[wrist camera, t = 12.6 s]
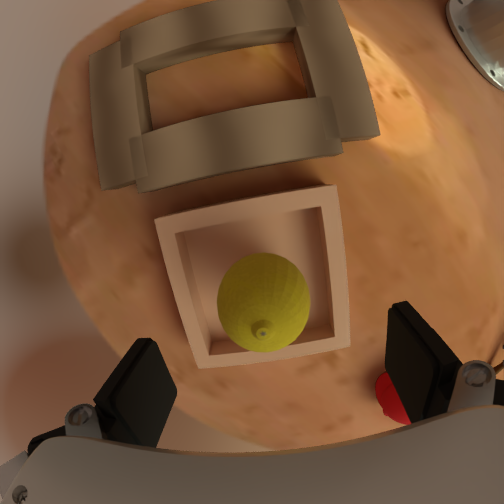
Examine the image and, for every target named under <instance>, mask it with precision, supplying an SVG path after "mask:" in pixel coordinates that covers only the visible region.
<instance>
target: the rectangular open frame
mask: <svg viewBox="0 0 504 504" xmlns="http://www.w3.org/2000/svg"><path fill="white" fill-rule="evenodd" d="M282 42H293V44H294V47H295V51H296V54H297V58H298V61H299V65H300V68H301V72H302V76H303V79H304V83H305V87H306V91H307V95H308V98H304V99H296V100H288V101H280V102H273V103H267V104H261V105H255V106H249V107H244V108H239V109H234V110H229V111H224V112H220V113H215V114H211V115H207V116H203V117H199V118H195V119H191V120H188V121H184V122H180V123H177V124H173V125H170V126H167V127H163V128H160V129H157V130H154V131H153V128H152V121H151V114H150V107H149V100H148V92H147V83H146V74H148V73H151V72H153V71H156V70H159V69H162V68H165V67H168V66H171V65H175V64H178V63H181V62H185V61H188V60H192V59H195V58H199V57H203V56H207V55H211V54H216V53H220V52H225V51H230V50H235V49H240V48H246V47H252V46H258V45H265V44H273V43H282ZM89 83H90V104H91V117H92V128H93V137H94V146H95V153H96V160H97V167H98V173H99V179H100V185H101V190H112V189H119V188H122V187H125V186H128V185H132V184H135V183H136V185H137V190H138V193H145V192H152V191H156V190H160V189H163V188H167V187H171V186H175V185H179V184H183V183H187V182H191V181H196V180H200V179H204V178H209V177H213V176H218V175H223V174H227V173H232V172H237V171H242V170H247V169H253V168H258V167H264V166H269V165H275V164H281V163H288V162H294V161H301V160H308V159H315V158H322V157H330V156H336V155H339V154H342V153H343V149H342V144H341V142H347V141H358V140H368V139H371V138H374V137H377V136H379V135H380V130H379V126H378V121H377V117H376V112H375V108H374V104H373V100H372V97H371V93H370V89H369V86H368V82H367V79H366V75H365V72H364V69H363V66H362V63H361V60H360V57H359V54H358V51H357V48H356V45H355V42H354V40H353V37H352V34H351V32H350V29H349V27H348V24H347V22H346V19H345V17H344V14H343V12H342V10H341V8H340V5H339V3H338V1H337V0H216V1H211V2H207V3H203V4H199V5H195V6H191V7H187V8H184V9H180V10H177V11H174V12H171V13H167V14H164V15H161V16H159V17H156V18H153V19H150V20H147V21H145V22H142V23H140V24H137V25H135V26H132V27H130V28H128V29H125V30H123V31H121V32H120V41H118V42H116V43H113V44H111V45H109V46H107V47H105V48H103V49H101V50H99V51H97V52H95V53H93V54H91V55H89Z"/></svg>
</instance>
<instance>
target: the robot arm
mask: <svg viewBox="0 0 504 504" xmlns="http://www.w3.org/2000/svg"><path fill="white" fill-rule="evenodd" d="M446 16H447V19H448V22H449V25H450V27H451V30H452V32H453V34H454V36H455V38H456V40H457V41H458V43H459V45H460V46H461V48H462V49H463V51H464V53H465V54H466V55H467V57H468V58H469V59H470V61H471V62H472V63H473V65H474V66H475V67H476V68H477V70H478V71H479V72H480V73H481V74H482V75H483V76H484V77H485V78H486V79H487V80H488V81H489V82H490V83H492V84H493V85H494V86H496V87H497V88H498V89H500V90H502V91H504V0H449V1H448V3H447V4H446ZM385 368H386V371H387V373H388V375H389V377H390V379H391V381H392V383H393V385H394V387H395V389H396V392H397V394H398V396H399V398H400V400H401V402H402V404H403V407H404V409H405V411H406V413H407V415H408V418H409V420H410V422H411V424H409V425H406V426H403V427H400V428H396V429H393V430H389V431H386V432H382V433H378V434H374V435H370V436H366V437H362V438H358V439H353V440H348V441H343V442H338V443H333V444H327V445H321V446H314V447H307V448H299V449H290V450H280V451H267V452H245V453H214V452H192V451H180V450H169V449H160V448H156V446H157V444H158V441H159V438H160V436H161V433H162V431H163V428H164V426H165V423H166V421H167V418H168V416H169V413H170V411H171V408H172V406H173V403H174V401H175V399H176V396H177V388H176V386H175V384H174V382H173V379H172V377H171V375H170V373H169V371H168V368H167V366H166V364H165V361H164V359H163V357H162V354H161V352H160V350H159V347H158V345H157V343H156V342H155V341H153V340H152V339H151V338H138V339H137V340H136V341H135V342H134V344H133V345H132V346H131V348H130V349H129V350H128V352H127V353H126V354H125V356H124V357H123V358H122V360H121V361H120V363H119V364H118V365H117V367H116V368H115V369H114V371H113V372H112V374H111V375H110V376H109V378H108V379H107V381H106V382H105V383H104V385H103V386H102V388H101V389H100V391H99V392H98V393H97V395H96V396H95V398H94V399H93V400H94V402H95V403H96V405H95V407H93V406H92V405H90V404H80V405H77V406H75V407H73V408H72V409H70V410H69V412H68V413H67V414H66V416H65V425H64V426H62V427H59V428H57V429H54V430H52V431H49V432H47V433H44V434H41V435H39V436H37V437H34V438H33V439H32V440H31V441H30V443H29V445H28V453H27V452H26V451H23V452H22V453H20V454H19V455H17V456H16V457H14V458H13V459H11V460H9V461H8V462H6V463H5V464H3V465H1V466H0V494H1V496H2V501H1V503H0V504H504V380H499V379H496V374H495V371H494V369H493V367H492V366H491V365H490V364H488V363H486V362H484V361H480V360H473V361H468V362H466V363H465V364H462V362H461V361H460V360H459V359H458V358H457V356H456V355H455V354H454V353H453V351H452V350H451V349H450V348H449V347H448V345H447V344H446V343H445V342H444V341H443V340H442V338H441V337H440V336H439V335H438V334H437V333H436V331H435V330H434V329H433V328H431V327H430V326H429V324H428V323H427V322H426V321H425V320H424V319H423V318H422V317H421V316H420V314H419V313H418V312H417V311H416V310H415V309H414V308H413V307H412V306H411V305H410V303H409V302H408V301H403V302H399V303H394V304H393V305H392V308H389V310H388V325H387V341H386V354H385Z"/></svg>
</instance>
